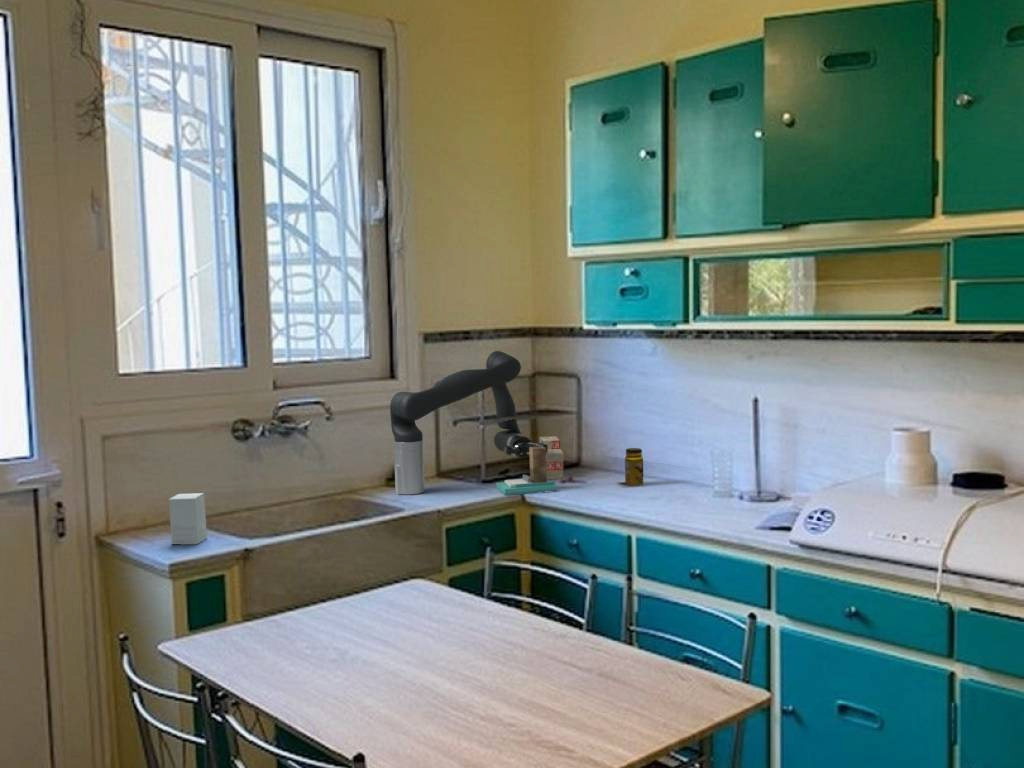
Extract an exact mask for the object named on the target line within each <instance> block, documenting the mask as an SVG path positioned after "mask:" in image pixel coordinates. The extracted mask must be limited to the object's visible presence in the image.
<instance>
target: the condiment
mask: <svg viewBox="0 0 1024 768" xmlns="http://www.w3.org/2000/svg"><path fill="white" fill-rule="evenodd" d="M624 478H625V480H624V481H623V482H621V481H619V482H618V481H617V482H616V484H618V485H619V486H620V487H624V488H626V487H645V486H647V484H645V483H644V457H643V451H642V448H639V447H638V448H637V447H629V448H626V449H625V457H624Z"/></svg>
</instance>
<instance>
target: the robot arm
mask: <svg viewBox="0 0 1024 768" xmlns="http://www.w3.org/2000/svg"><path fill="white" fill-rule="evenodd" d="M485 363H486V364H485V366H486V368H477V369H473V368H472V369H462V370H459V371H456V372H455V373H451V374H449V375H447V376H445V377H444V378H442V379H441V380H440V381H438V383H437V384H436V385H434V386H433V387H430V388H428V389H424V390H421V391H418V392H414V391H413V392H410V391H399V392H396V393H395V394H394V395H393V397H392V398H391V401H390V405H389V407H390V408H389V412H390V426H391V431H392V434H393V437H394V439H393V440H394V457H395V458H394V459H395V461H394V486H395V487H394V488H395V492H396V494H397V495H417V494H422V493H424V492H425V471H424V469H425V468H424V467H425V466H424V439H423V432H422V430H420V429H419V427H418V425H417V424H416V421H417V420H420V419H422V418H424V417H425V416H427V415H429V414H431V413H433V412H434V411H436V410H438V409H441V408H442V407H446V406H448V405H451V404H454V403H456V402H459V401H461V400H463V399H466V398H469V397H470V396H473V395H474V394H477V393H479V392H482V391H485V390H487V389H490V388H491V390H492V395H493V399H494V402H495V412H496V418H497V417H504V416H515V415H516V416H517V411H516V410H517V409H516V405H515V402H514V399H513V396H512V394H511V393H510V391H509V388H508V385H507V383H510V382H512V381H514V380H515V379H516V378H517V377H518V376H519V374H520V372H521V369H522V366H521V363H520V361H519V360H518V359H517V358H515V357H514V356H512V355H510V354H508V353H506V352H504V351H501V350H494V351H492V352H491V353H489V355H488V356H487V359H486V362H485ZM497 426H498V427H499V428H500V429H502V431H501V430H500V431H497V432H496V433H495V434H494V437H493V443H494V445H495V447H496V449H497V450H499V451H500V452H504V454H506V456H507V455H508V456H516V457H518V458H520V459H523V458H526V457H528V456H530V454H529V447H539V446H543V447H545V448H546V453H547V452H548V447H547V445H546V444H544V443H540V442H539V444H538V443H534V442H532V440H531V439H530V438H529V437H527V436H525V435H523V434H522V432H521V430H520V427H519V424H518V421H517V418H516V419H512V420H508V421H503V422H498V423H497Z"/></svg>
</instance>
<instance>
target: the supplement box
mask: <svg viewBox="0 0 1024 768" xmlns="http://www.w3.org/2000/svg"><path fill="white" fill-rule="evenodd" d="M205 503H206V502H205V493H204V492H201V493H200V492H199V493H194V492H193V493H177V494H176V495H174V496H172V497H170V498H169V499H168V506H169V522H170V523H169V524H170V534H171V545H172V544H181V545H199V544H200V543H202V542H203V541H205V540H206V539H208V536H207V535H208V532H207V521H206V519H207V518H206V505H205ZM201 541H202V542H201ZM198 543H199V544H198Z"/></svg>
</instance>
